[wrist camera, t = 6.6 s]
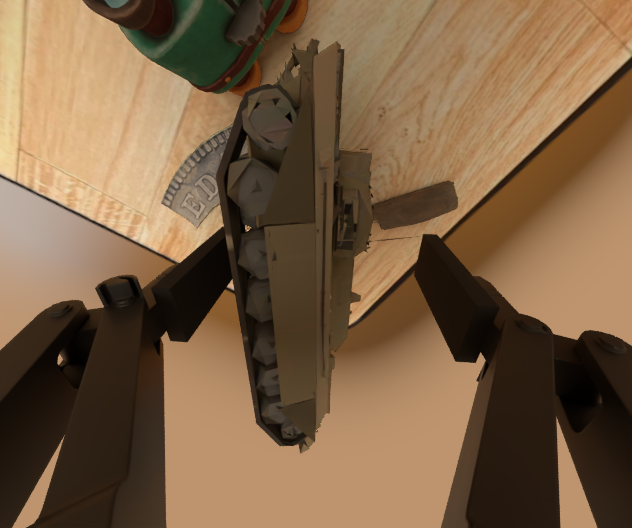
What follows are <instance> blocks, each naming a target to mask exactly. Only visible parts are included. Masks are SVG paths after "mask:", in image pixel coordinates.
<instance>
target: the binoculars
mask: <svg viewBox="0 0 632 528" xmlns="http://www.w3.org/2000/svg"><path fill="white" fill-rule="evenodd" d="M83 1H84V3H85V4H86V5H87V6H88V7H89V8H90V9H92V10H93V11H94V12H96V13H97V14H99V15H101V16H103V17H105V18H107V19H109V20H111V21H113V22H115V23H117V24H118V25H119V27H120V29H121V30H122V32H123V33H124V34H125V36H126V37H127V38H128V40H129V41H130V42H131V43H132V44H133V45H134V46H135V47H136V48H137V49H138V50H139V51H140V52H141V53H142V54H143V55H145V56H146V57H147V58H149V59H150V60H151V61H153V62H155V63H157V64H158V65H160V66H162V67H164V68H166V69H168V70H170V71H171V72H173V73H175V74H177V75H179V76H181V77H183V78H184V79H186V80H188V81H189V82H190V83H191V84H192V85H193V86H195V87H196V88H197V89H199V90H202V91H204V92H212V93H216V94H220V93H224V92H227V91H228V90H229V91H230V92H232V93H234V94H237V95H239V96H244V94H245V92H246V91H249V90H250V89H253V88H256V87H259V84H260V80H261V69H260V65H259V62H258V60H257V58H258V56H259V54H260V53H261V51H262V50H263V47H264V44H263V42H262V41H261V38H263V39H264V40H265V41H268V40H269V39H270V37H271V36H272V34H273V33H274V31H275V30H277V31H280V32H282V33H290V32H293V31H295V30H296V29H298V28H299V27H300V25H301V24H302V23H303V21H304V19H305V16H306V12H307V0H83Z"/></svg>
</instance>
